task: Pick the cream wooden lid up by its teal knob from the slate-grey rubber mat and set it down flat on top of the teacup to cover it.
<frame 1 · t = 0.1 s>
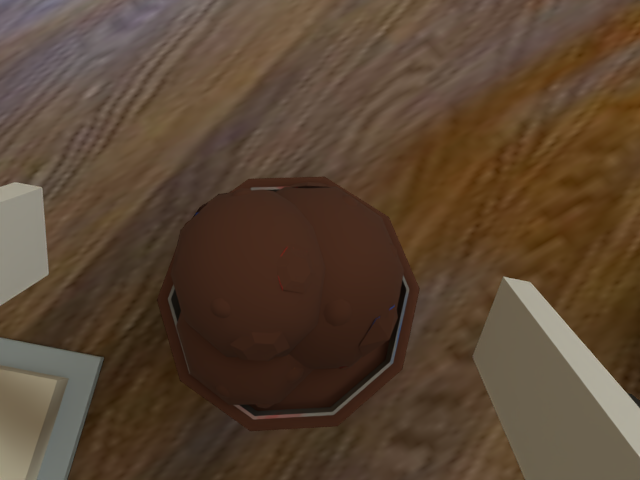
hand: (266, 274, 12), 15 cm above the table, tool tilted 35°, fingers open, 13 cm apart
ice cream bowl: (294, 310, 27), on the table
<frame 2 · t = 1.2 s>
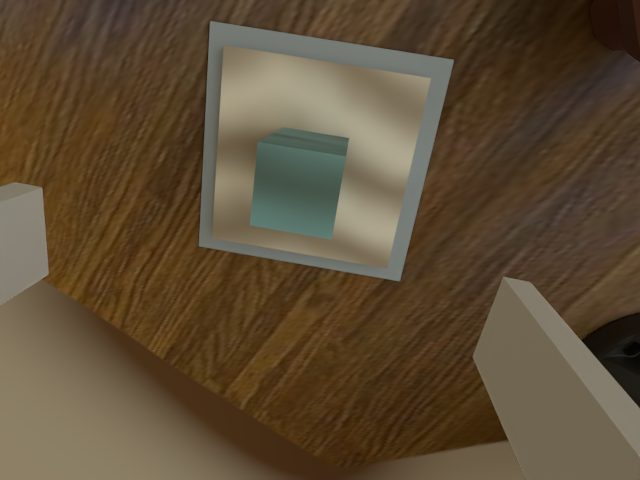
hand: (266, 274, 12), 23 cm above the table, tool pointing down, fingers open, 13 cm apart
mat: (313, 161, 34), on the table
ice cream bowl: (630, 7, 28), on the table
lid: (313, 162, 33), resting on mat
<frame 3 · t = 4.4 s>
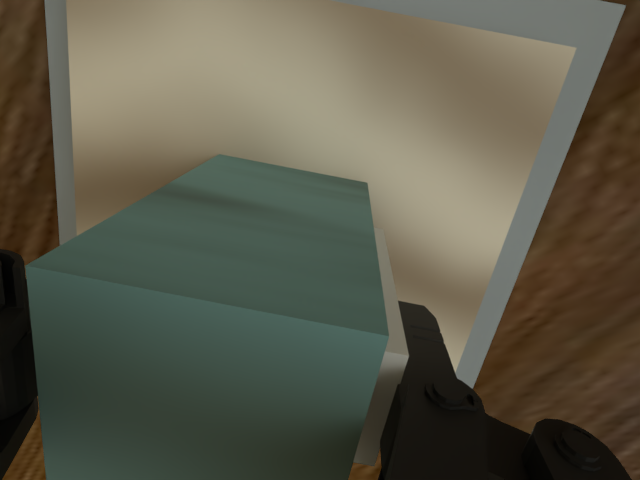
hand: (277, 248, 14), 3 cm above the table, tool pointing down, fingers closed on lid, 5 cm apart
mat: (288, 222, 16), on the table
lid: (287, 226, 16), resting on mat, touching gripper
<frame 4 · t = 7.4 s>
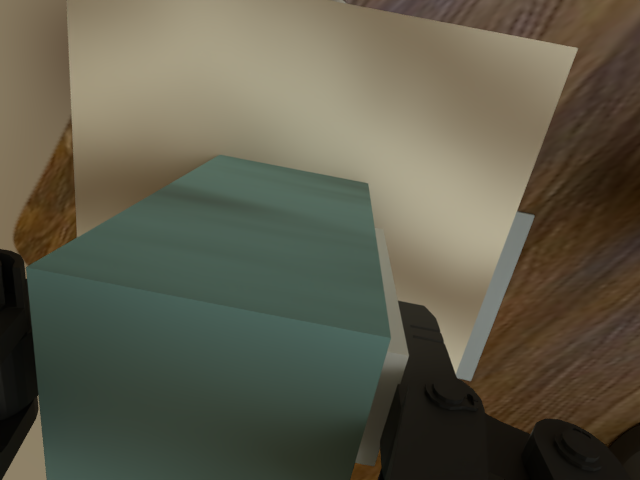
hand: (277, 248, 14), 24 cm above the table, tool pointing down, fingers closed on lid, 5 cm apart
mat: (406, 284, 40), on the table
lid: (288, 226, 16), point 21 cm above the table, touching gripper
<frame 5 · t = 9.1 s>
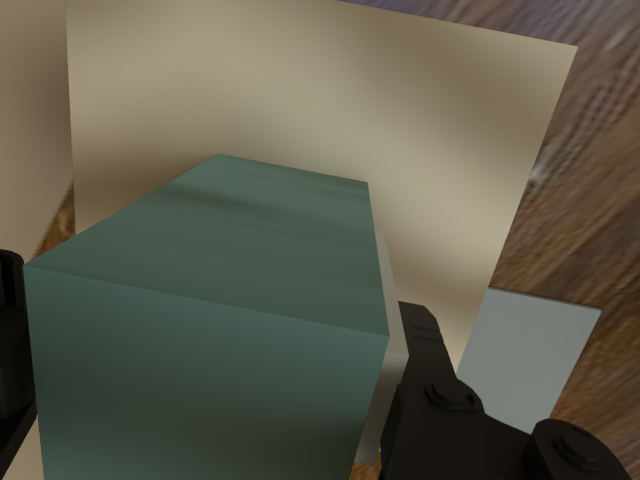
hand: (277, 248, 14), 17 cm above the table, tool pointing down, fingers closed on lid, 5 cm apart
mat: (448, 378, 35), on the table
lid: (287, 225, 16), point 14 cm above the table, touching gripper
when the fingers open (12 cm above the table, at t = 10.6 s): lid drops 2 cm, resting on teacup.
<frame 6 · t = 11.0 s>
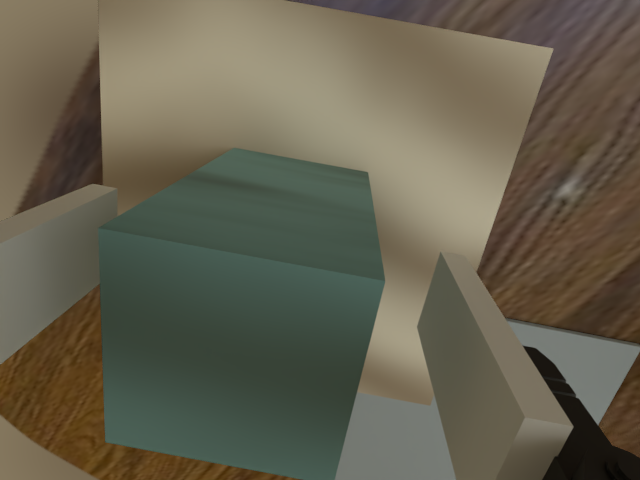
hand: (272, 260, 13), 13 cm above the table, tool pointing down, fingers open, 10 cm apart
mat: (461, 420, 31), on the table
lid: (295, 213, 17), point 8 cm above the table, touching teacup
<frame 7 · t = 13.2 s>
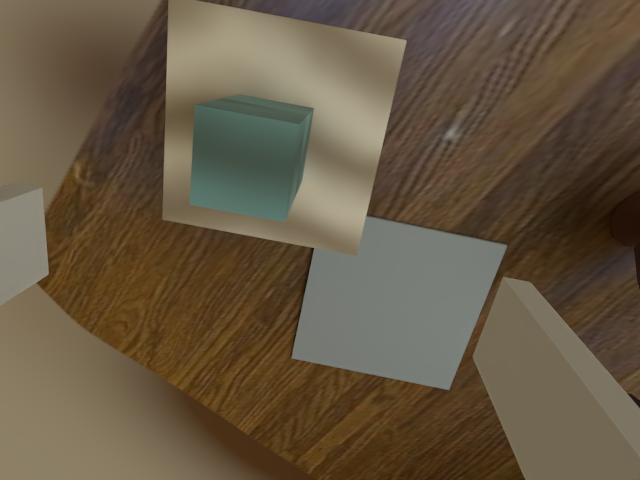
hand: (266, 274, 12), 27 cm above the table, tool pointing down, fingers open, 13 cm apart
mat: (390, 304, 43), on the table
lid: (275, 136, 30), point 8 cm above the table, touching teacup
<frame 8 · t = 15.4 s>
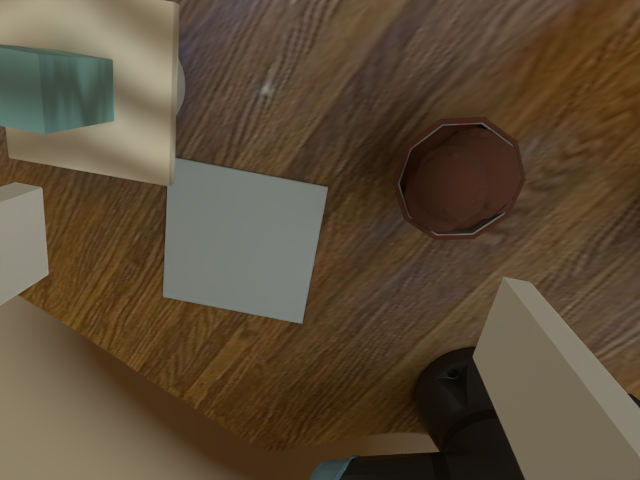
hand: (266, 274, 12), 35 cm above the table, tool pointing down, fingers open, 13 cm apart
mat: (240, 244, 50), on the table
ice cream bowl: (437, 161, 45), on the table
teacup: (133, 80, 44), on the table, touching lid
lid: (92, 85, 37), point 8 cm above the table, touching teacup
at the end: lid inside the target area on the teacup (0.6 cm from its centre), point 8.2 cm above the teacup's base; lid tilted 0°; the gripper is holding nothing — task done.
